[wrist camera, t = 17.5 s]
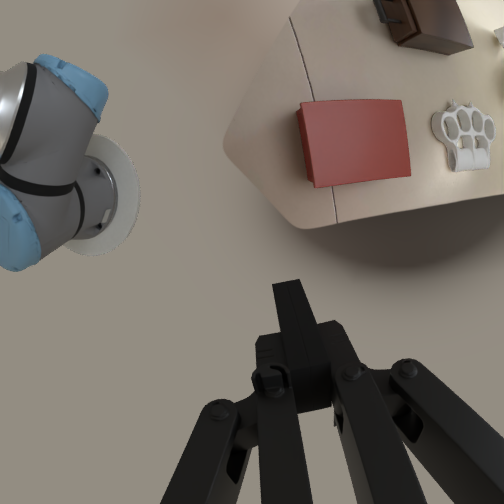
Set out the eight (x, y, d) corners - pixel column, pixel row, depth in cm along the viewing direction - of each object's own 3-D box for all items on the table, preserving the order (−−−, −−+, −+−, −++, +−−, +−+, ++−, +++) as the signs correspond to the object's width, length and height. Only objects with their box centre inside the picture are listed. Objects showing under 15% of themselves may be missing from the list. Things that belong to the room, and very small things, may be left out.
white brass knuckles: (436, 172, 44) (425, 98, 39) (489, 166, 43) (481, 103, 38) (447, 174, 40) (435, 96, 35) (499, 168, 40) (491, 102, 34)
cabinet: (398, 46, 35) (421, 33, 27) (381, -2, 31) (400, -19, 23) (448, 55, 35) (473, 47, 27) (433, 10, 31) (455, -2, 23)
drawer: (374, 39, 34) (391, 26, 28) (359, -5, 31) (372, -21, 24) (442, 50, 34) (462, 43, 27) (428, 9, 30) (445, -1, 24)
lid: (313, 187, 37) (315, 188, 36) (299, 103, 33) (300, 102, 32) (408, 175, 36) (411, 176, 36) (398, 100, 32) (401, 100, 32)
